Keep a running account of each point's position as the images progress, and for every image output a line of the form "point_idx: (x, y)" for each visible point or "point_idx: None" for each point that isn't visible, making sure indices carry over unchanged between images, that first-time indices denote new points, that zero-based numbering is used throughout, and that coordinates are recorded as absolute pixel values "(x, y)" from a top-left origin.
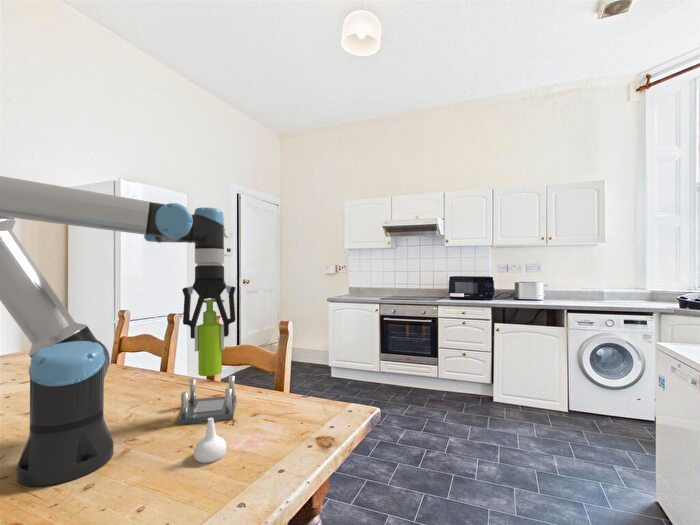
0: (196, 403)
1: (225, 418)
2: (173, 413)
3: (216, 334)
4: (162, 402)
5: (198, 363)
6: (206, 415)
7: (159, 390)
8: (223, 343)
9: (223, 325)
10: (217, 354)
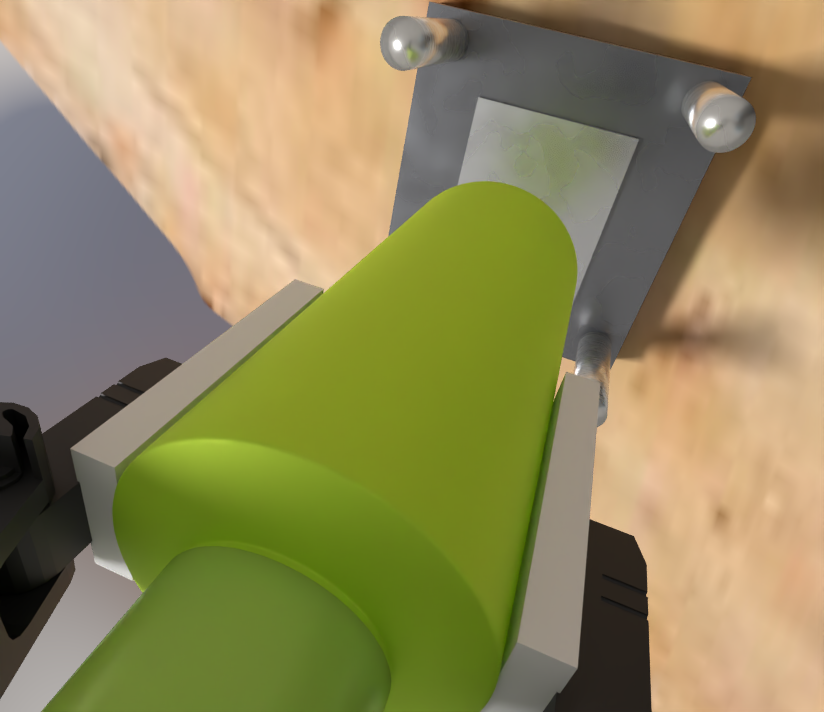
0: (585, 290)
1: (477, 12)
2: (714, 284)
3: (262, 355)
4: (720, 466)
5: (569, 318)
6: (578, 50)
7: (687, 611)
8: (260, 308)
9: (78, 466)
10: (376, 248)
